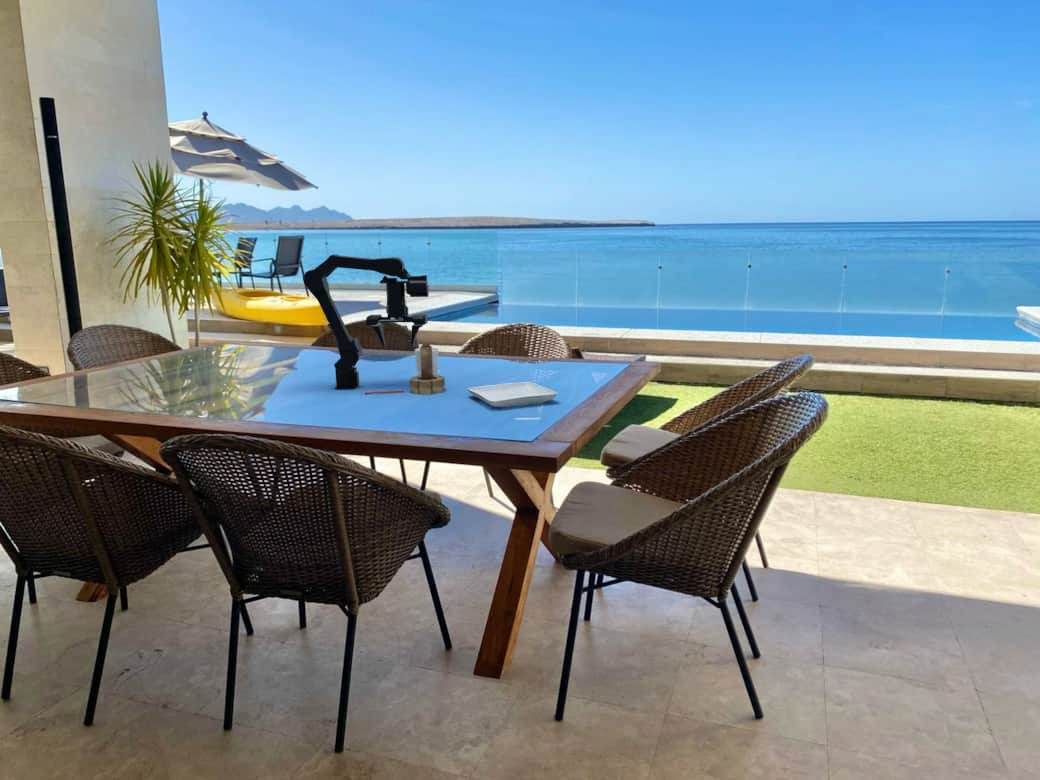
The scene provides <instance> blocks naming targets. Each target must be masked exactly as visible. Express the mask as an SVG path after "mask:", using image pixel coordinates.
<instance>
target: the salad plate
mask: <svg viewBox="0 0 1040 780" xmlns="http://www.w3.org/2000/svg"><path fill="white" fill-rule="evenodd" d="M467 391H468V392H469V393H470V394H471V395H472V396H473V397H475V398H478V399H479V400H481V401H483V402H485V403H487V404H488V405H490V406H492V407H495V408H499V407H502V408H511V406H513V407H520V406H519V405H522V406H527V405H526V404H530V405H535V404H534V403H539V404H542V403H541V402H543V403H545V402H549V401H551V400H553V399H555V398H556V397H557V396H558V395H559V393H558V392H557V391H554V390H551V389H549V388H548V387H544V386H542V385H539V384H537V383H534V382H531V381H523V382H522V381H521V382H510V383H498V384H489V385H482V386H475V387H474V386H473V387H467Z"/></svg>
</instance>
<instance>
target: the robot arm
mask: <svg viewBox="0 0 1040 780" xmlns="http://www.w3.org/2000/svg"><path fill="white" fill-rule="evenodd" d="M338 268H340V269H341V268H342V269H349V270H350V269H352V270H362V271H373V272H376V273H379V274H382V275H384V276H383V278H382V279H381V280H380V281H379V284H384V285H385V287H386V288H385V289H386V291H385V292H386V309H385V313H386V314H387V316H382V314H370V315H367V316H366V318H365V323H366V326H370V328H371V329H373V330H374V331H375V333H376V335H377V336H378V338H379V341H380V343H381V345H382V347H383V348H384V347H386V341H385V334H384V333H385V332H384V323H385V324H386V323H413V324H412V325H411V339H410V341H411V347H414V346H415V342H416V339H417V334H418V332H419V330H420V328H422V327H423V326H424V325H426V324H427V323H428V315H427V314H426V313H415V314H413V315H412V316H409V307H408V306H407V303H406V294H407V296H408V295H409V297H410V298H429V295H430V294H429V293H430V292H429V291H430V289H429V287H430V286H429V283H428V281H429V280H428V276H427V275H425V274H423V275H412V276H411V274H410V273H409V272H408V270H407V269H406V267H405V263H404V261H403V259H402V258H400V257H398V256H392V257H391V256H390V257H381V258H370V257H360V256H359V257H358V256H349V255H339V254H337V253H336V254H331V255H329V256H328V257H327V258H326V259H325V260H324V261H323V262H322V263H320V264H319V265H318V266H316V267H315V268H313V269H309V270H307V271H306V272H305V273H304V274H303V277H302V279H303V280H302V281H303V283H304V285H305V286H306V288H307V290H308V291H309V292H310V293H311V294H312V296H313V297H314V298H316V300H317V302H318V304H319V306H320V308H321V310H322V312H323V315H324V316H325V319H326V321H327V322H328V325H329V326H330V329H331V331H332V333H333V335H334V337H335V339H336V341H337V342H336V343H337V348H338V349H337V351H338V353H339V356H340V358H339V359H338V360H337V361H336V362H335V363H334V364H333V366H334V368H335V369H334V370H335V383H336V384H335V387H334V389H335V390H354V389H356V388H358V387H359V386H360V372H359V371H358V369H357V368H358V367H356V366H357V363H358V362H359V361H360V360H361V359H362V356H363V348H364V347H362V345H361V344H360V341H359V339H358V336H357V337H355V338H353V337H352V336H351V335H350V333H349V331H348V330H347V327H346V325H345V323H344V321H343V319H342V316H341V315H340V312H339V311H338V309H337V305H336V304H335V301H334V300H333V298H332V296H331V292H330V286H329V282H328V277H329V276H331V274H333V272H335V270H337V269H338ZM388 276H390V277H388ZM399 279H400V280H399ZM405 290H406V291H405Z"/></svg>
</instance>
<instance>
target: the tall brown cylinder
mask: <svg viewBox="0 0 1040 780" xmlns="http://www.w3.org/2000/svg"><path fill="white" fill-rule="evenodd" d="M419 348H420V355H421V379H422V380H432V379H433V364H432V348H433V346H432V345H430V343H429V342H428V341H424V342H423V343H422V345H421V346H420V347H419Z"/></svg>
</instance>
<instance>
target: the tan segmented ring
mask: <svg viewBox="0 0 1040 780" xmlns="http://www.w3.org/2000/svg"><path fill="white" fill-rule="evenodd" d="M445 390H446V381H445V376H443V375H439V374H438V375H433V379H432V380H422V379H421V375H420V376H418V375H414V376H412V377H411V378H409V392H410V393H411V392H412V394H415V393H416V395H435V394H441V393H443V391H444V392H445ZM440 392H441V393H440Z"/></svg>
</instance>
